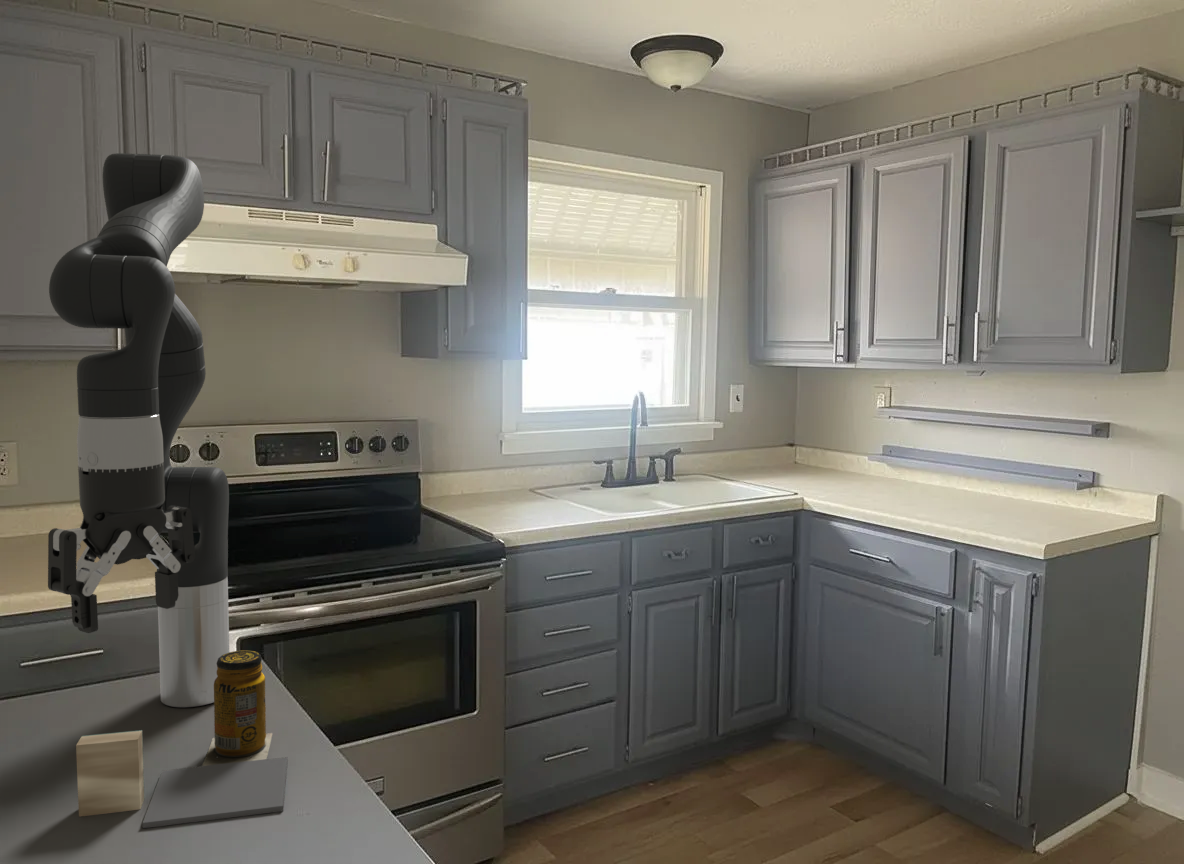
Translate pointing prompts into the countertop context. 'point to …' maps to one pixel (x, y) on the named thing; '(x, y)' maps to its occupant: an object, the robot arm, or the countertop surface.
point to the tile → (110, 772)
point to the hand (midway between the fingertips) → (128, 618)
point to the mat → (218, 792)
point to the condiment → (239, 710)
